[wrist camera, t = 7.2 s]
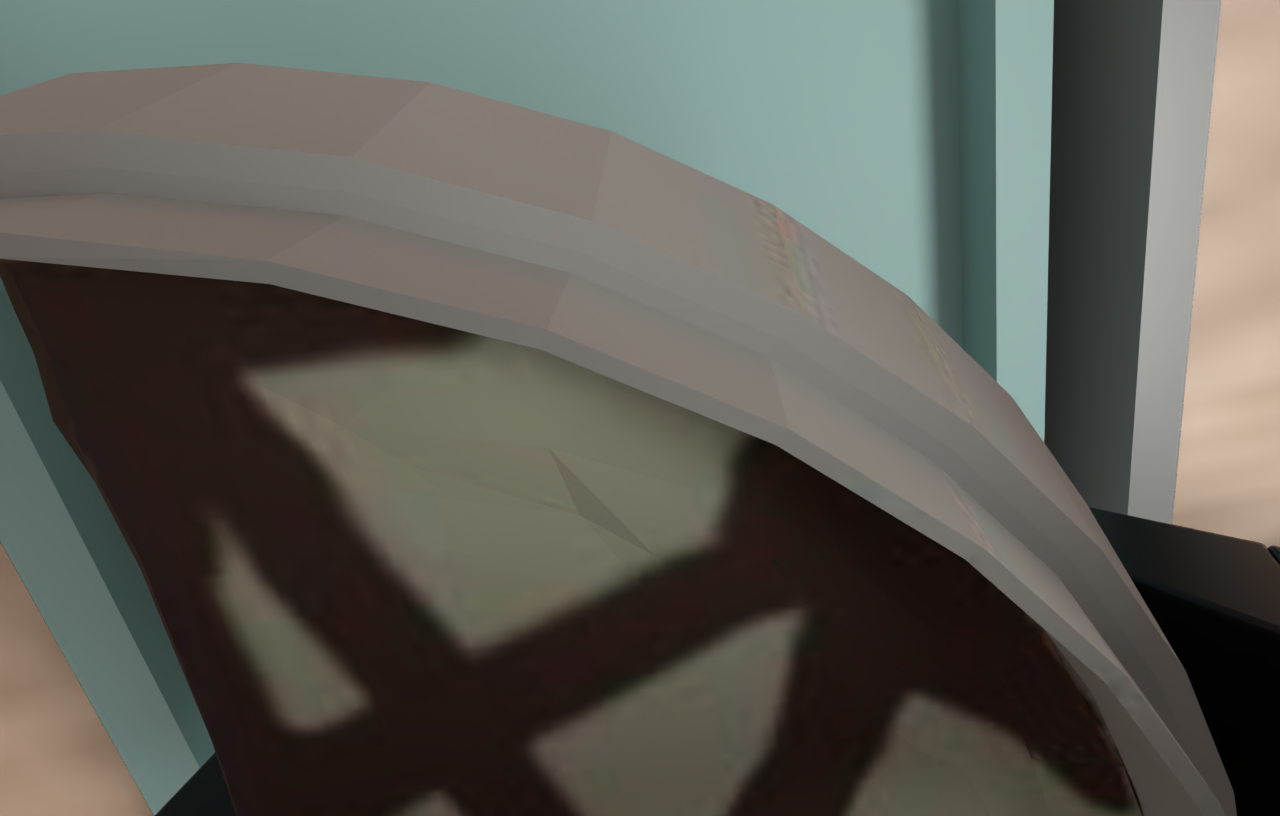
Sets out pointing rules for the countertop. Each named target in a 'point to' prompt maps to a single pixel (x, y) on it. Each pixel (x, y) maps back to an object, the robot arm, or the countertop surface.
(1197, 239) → the grey rectangular frame
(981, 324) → the tray
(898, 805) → the food container
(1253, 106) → the countertop surface
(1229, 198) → the countertop surface
